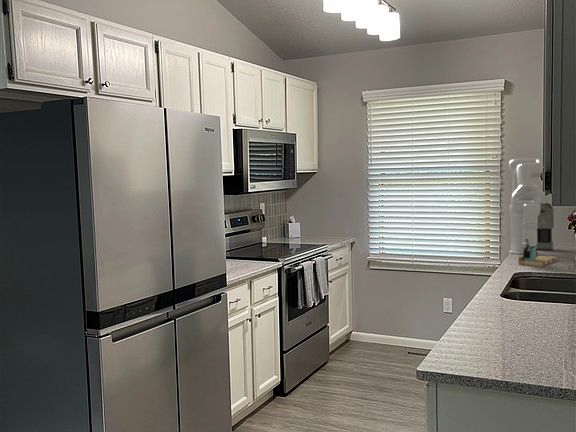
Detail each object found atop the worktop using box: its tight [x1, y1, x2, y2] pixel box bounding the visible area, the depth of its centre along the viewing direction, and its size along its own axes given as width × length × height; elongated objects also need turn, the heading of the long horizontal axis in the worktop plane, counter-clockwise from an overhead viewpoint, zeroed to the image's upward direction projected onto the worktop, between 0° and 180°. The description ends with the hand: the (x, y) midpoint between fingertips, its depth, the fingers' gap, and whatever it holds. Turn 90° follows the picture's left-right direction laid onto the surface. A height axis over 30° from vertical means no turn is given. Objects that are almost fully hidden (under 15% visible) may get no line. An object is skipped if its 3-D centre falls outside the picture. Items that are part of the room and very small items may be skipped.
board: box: [518, 251, 558, 267], centre depth 311 cm, size 24×12×4 cm, turn 136°
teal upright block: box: [524, 247, 536, 261], centre depth 307 cm, size 5×4×7 cm
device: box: [536, 202, 555, 251], centre depth 357 cm, size 14×8×30 cm, turn 59°
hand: (530, 256), depth 307 cm, fingers open, 9 cm apart
